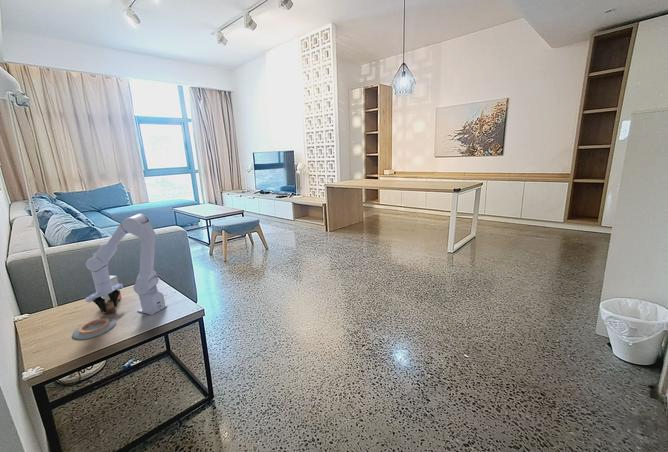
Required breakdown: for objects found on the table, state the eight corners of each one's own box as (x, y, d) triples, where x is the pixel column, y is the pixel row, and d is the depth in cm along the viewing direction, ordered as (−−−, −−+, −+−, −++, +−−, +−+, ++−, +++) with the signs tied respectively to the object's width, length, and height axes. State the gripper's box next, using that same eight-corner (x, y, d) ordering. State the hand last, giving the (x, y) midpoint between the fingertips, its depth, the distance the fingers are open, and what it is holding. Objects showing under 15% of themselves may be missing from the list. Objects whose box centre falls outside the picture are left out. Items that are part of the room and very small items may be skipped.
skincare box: (111, 303, 138) (105, 280, 135) (103, 303, 139) (98, 280, 136) (122, 297, 144) (117, 275, 141) (115, 296, 145) (110, 275, 142)
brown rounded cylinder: (117, 310, 132) (115, 300, 131) (108, 314, 128) (105, 305, 127) (111, 308, 133) (109, 299, 132) (102, 313, 130) (99, 303, 129)
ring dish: (124, 322, 122) (123, 318, 122) (87, 342, 110) (86, 338, 109) (102, 316, 127) (101, 313, 127) (64, 335, 114) (63, 331, 114)
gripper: (113, 274, 135) (119, 300, 139) (77, 287, 122) (85, 316, 125) (123, 276, 133) (129, 302, 136) (88, 290, 120) (96, 318, 123)
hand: (109, 309), depth 131 cm, fingers closed on brown rounded cylinder, 4 cm apart
